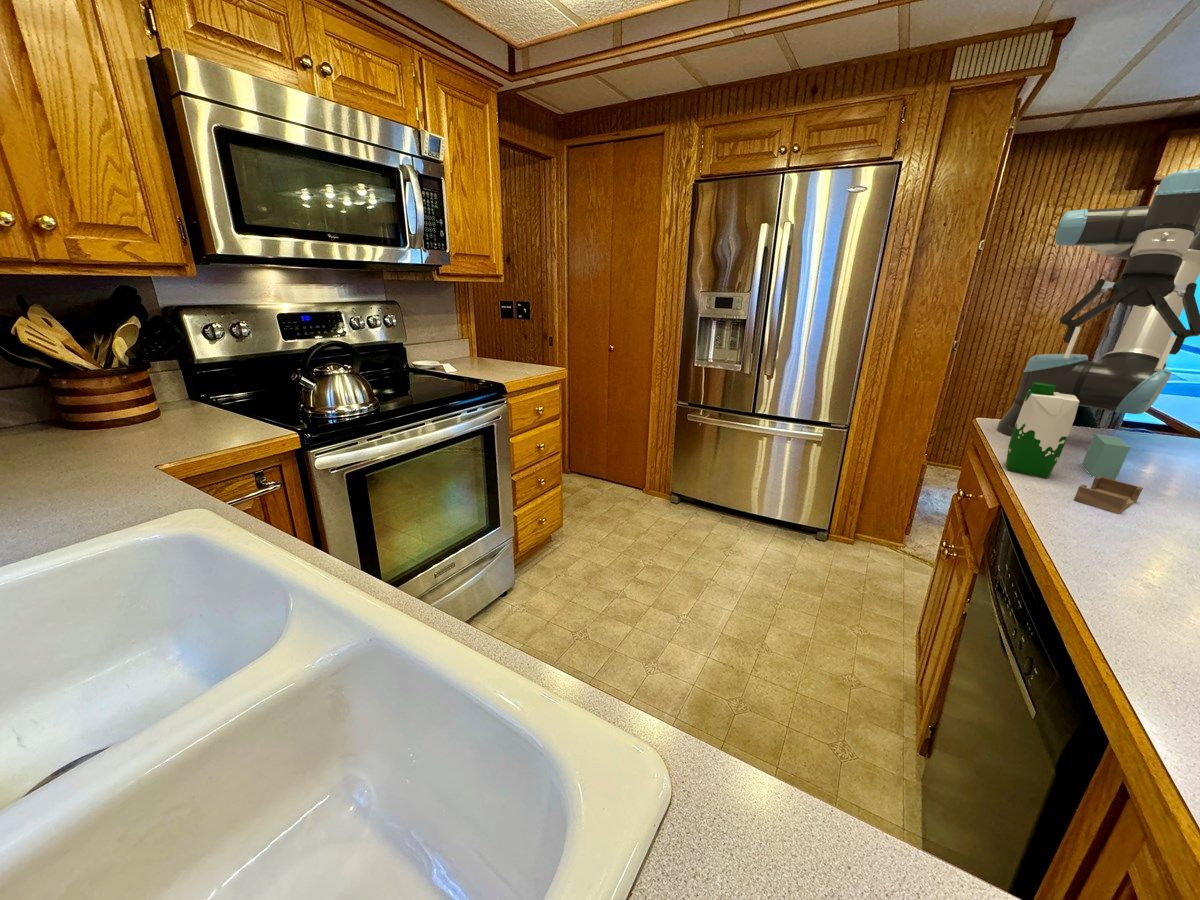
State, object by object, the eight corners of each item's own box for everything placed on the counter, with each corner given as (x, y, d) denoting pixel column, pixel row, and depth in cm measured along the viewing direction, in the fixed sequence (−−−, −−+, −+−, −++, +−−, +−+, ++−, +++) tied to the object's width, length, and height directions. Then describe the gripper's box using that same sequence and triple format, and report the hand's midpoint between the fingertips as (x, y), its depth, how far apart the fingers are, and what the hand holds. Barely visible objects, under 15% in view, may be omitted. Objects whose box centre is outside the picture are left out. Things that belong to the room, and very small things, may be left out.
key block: (1081, 464, 116) (1094, 433, 114) (1104, 468, 114) (1117, 437, 111) (1091, 476, 109) (1104, 443, 106) (1115, 481, 107) (1130, 447, 104)
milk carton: (1001, 460, 117) (1029, 379, 110) (1050, 469, 112) (1082, 385, 105) (1002, 470, 111) (1031, 385, 104) (1054, 481, 106) (1088, 392, 99)
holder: (1093, 488, 102) (1098, 476, 101) (1136, 501, 97) (1143, 487, 96) (1073, 500, 96) (1079, 486, 95) (1118, 513, 91) (1125, 499, 90)
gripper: (1071, 250, 100) (1031, 351, 104) (1263, 252, 84) (1206, 372, 88) (1070, 261, 106) (1032, 356, 110) (1250, 265, 89) (1197, 378, 93)
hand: (1109, 364), depth 99 cm, fingers open, 13 cm apart
